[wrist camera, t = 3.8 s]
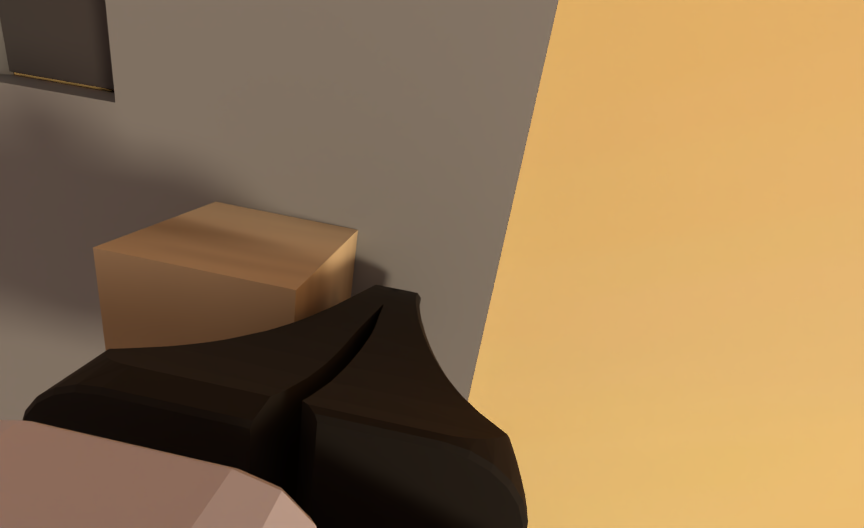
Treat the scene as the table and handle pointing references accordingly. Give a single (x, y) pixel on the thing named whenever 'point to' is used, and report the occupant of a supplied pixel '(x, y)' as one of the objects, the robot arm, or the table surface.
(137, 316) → the maple block
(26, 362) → the trap board
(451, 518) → the robot arm
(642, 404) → the table surface
